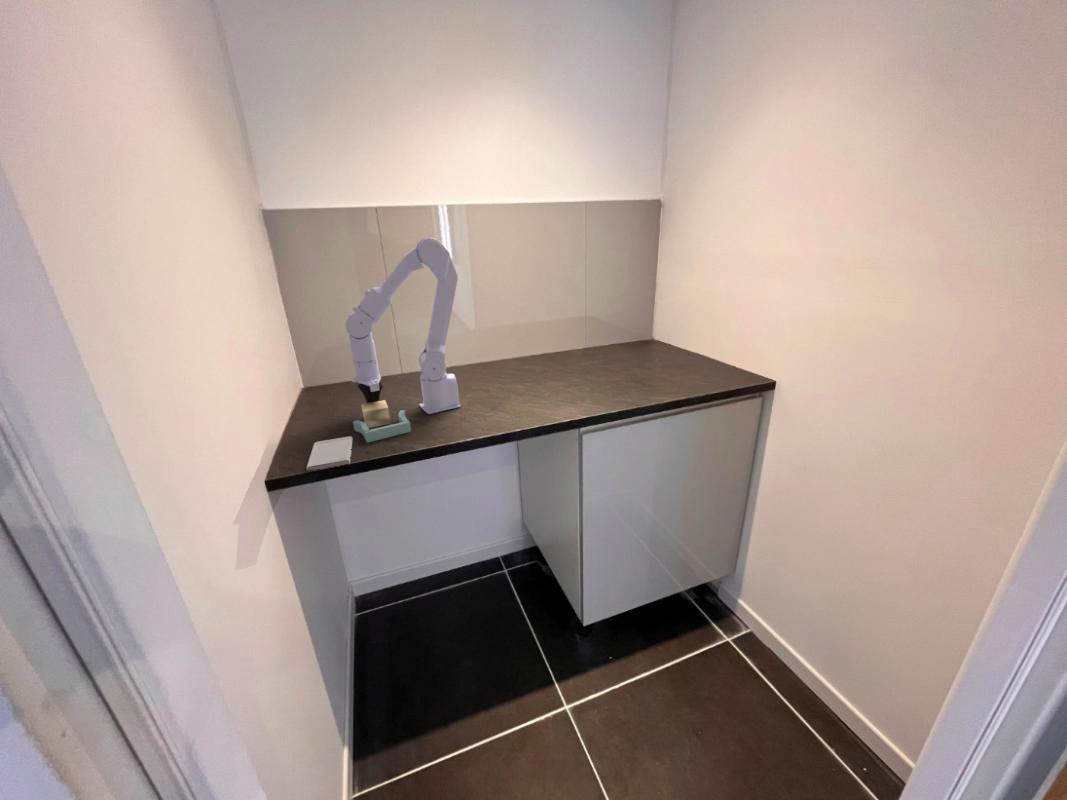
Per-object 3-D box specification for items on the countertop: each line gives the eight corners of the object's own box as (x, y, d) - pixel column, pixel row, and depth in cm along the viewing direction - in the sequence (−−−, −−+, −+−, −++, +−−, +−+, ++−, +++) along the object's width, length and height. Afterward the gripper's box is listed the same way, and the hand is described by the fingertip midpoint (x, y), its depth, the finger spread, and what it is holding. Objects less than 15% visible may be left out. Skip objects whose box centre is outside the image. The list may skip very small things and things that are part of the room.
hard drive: (348, 459, 88) (351, 435, 98) (305, 467, 85) (313, 441, 96) (350, 466, 88) (353, 441, 99) (307, 474, 86) (315, 447, 97)
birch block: (387, 415, 112) (385, 400, 110) (391, 423, 107) (388, 407, 105) (364, 420, 110) (361, 404, 108) (366, 428, 104) (363, 412, 103)
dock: (405, 418, 110) (404, 409, 109) (416, 430, 103) (414, 421, 102) (354, 430, 104) (352, 420, 103) (361, 444, 96) (359, 434, 96)
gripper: (344, 356, 110) (353, 404, 115) (353, 369, 99) (363, 422, 104) (371, 352, 114) (379, 398, 119) (384, 364, 102) (392, 415, 107)
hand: (374, 409), depth 111 cm, fingers closed
